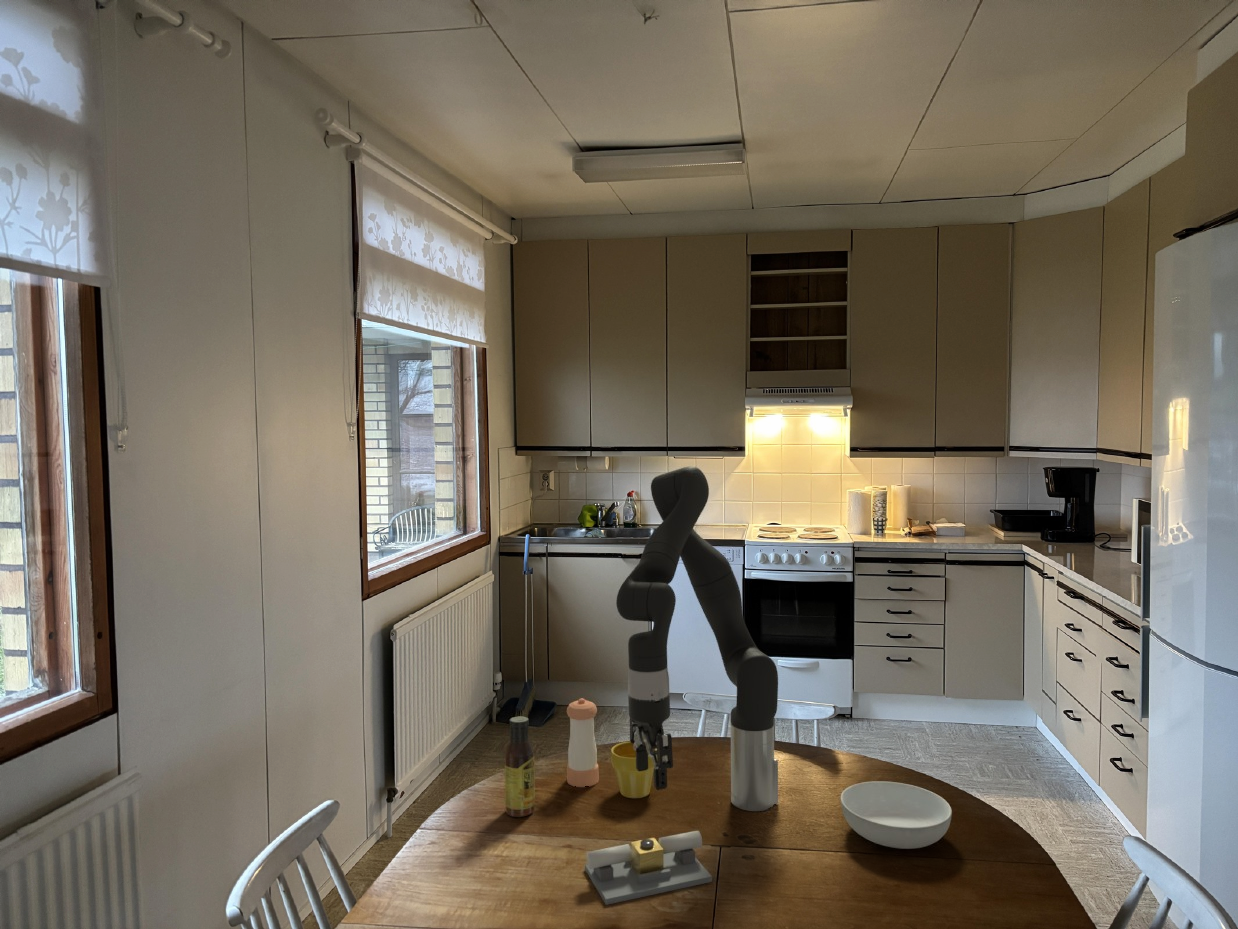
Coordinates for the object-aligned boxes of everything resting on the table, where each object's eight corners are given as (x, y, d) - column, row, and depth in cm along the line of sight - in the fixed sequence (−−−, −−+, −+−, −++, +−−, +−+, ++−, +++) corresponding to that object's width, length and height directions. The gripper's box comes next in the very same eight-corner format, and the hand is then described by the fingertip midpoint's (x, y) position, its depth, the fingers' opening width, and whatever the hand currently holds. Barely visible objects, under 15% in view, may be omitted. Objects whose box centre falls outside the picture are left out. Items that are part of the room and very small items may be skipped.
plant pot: (612, 782, 188) (611, 740, 188) (657, 782, 188) (656, 740, 187) (610, 802, 178) (609, 758, 177) (658, 802, 178) (657, 758, 177)
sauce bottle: (529, 820, 170) (527, 726, 169) (501, 817, 172) (499, 724, 171) (539, 806, 177) (537, 715, 176) (511, 803, 178) (509, 713, 177)
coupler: (631, 866, 150) (631, 838, 150) (654, 861, 151) (654, 834, 151) (640, 878, 146) (639, 850, 145) (663, 874, 147) (663, 846, 147)
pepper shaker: (598, 787, 186) (596, 703, 185) (565, 787, 186) (564, 704, 185) (599, 773, 193) (598, 693, 192) (568, 774, 193) (567, 693, 192)
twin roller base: (688, 849, 158) (687, 819, 157) (715, 880, 146) (715, 849, 146) (581, 870, 150) (580, 839, 150) (601, 905, 139) (601, 872, 139)
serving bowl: (968, 834, 162) (968, 800, 162) (924, 877, 147) (925, 839, 147) (869, 802, 177) (869, 771, 176) (820, 838, 161) (820, 804, 161)
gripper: (615, 683, 154) (618, 768, 154) (645, 706, 140) (647, 799, 141) (652, 677, 156) (654, 761, 157) (684, 700, 143) (687, 791, 144)
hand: (651, 779), depth 149 cm, fingers open, 8 cm apart
